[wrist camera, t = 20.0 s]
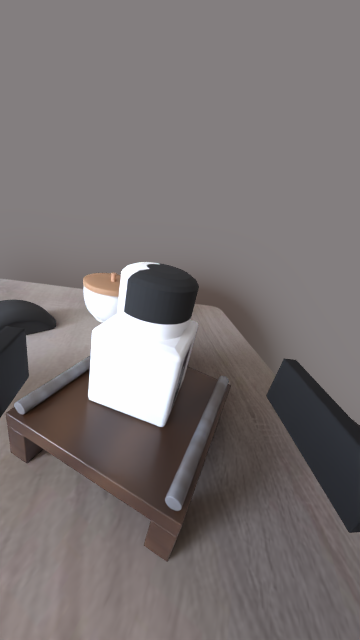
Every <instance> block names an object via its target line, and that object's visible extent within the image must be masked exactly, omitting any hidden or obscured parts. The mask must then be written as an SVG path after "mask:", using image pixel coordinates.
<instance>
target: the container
mask: <svg viewBox="0 0 360 640" xmlns="http://www.w3.org/2000/svg"><path fill="white" fill-rule="evenodd" d="M198 288H199V286H198V283H197V281H196V280H195V279H194V278H193V277H192V276H191V275H189V274H188V273H187V272H185V271H183V270H181V269H178V268H176V267H173V266H169V265H164V264H159V263H152V262H139V263H135V264H131V265H128V266H126V267H125V268H124V269H123V270H122V272H121V281H120V290H119V299H118V308H117V314H115V315H114V316H112V317H111V318H109V319H108V320H106V321H105V322H103V323H102V324H100V325H99V326H97V327H96V328H95V329H93V331H92V344H91V360H90V375H89V391H88V397H89V400H91V401H94V402H96V403H99V404H102V405H104V406H107V407H110V408H112V409H115V410H117V411H120V412H123V413H125V414H128V415H130V416H133V417H136V418H138V419H141V420H143V421H146V422H149V423H151V424H154V425H157V426H159V427H164V426H165V424H166V422H167V420H168V417H169V415H170V412H171V410H172V407H173V405H174V402H175V400H176V397H177V395H178V392H179V390H180V387H181V385H182V382H183V380H184V377H185V373H186V369H187V366H188V362H189V358H190V355H191V351H192V348H193V344H194V340H195V337H196V333H197V329H198V323H197V322H196V321H193V320H191V316H192V312H193V308H194V304H195V300H196V296H197V292H198Z"/></svg>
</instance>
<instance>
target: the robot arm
mask: <svg viewBox="0 0 360 640" xmlns="http://www.w3.org/2000/svg"><path fill="white" fill-rule="evenodd" d="M28 377H29V372H28V359H27V346H26V333H25V328H18V327H10V326H6V327H4V328H3V329H2V330H1V331H0V417H1V416H2V414H3V413H4V412H5V410H6V409H7V407H8V406H9V404H10V403H11V402H12V400H13V399H14V397H15V396H16V394H17V393H18V391H19V390H20V389H21V387H22V386H23V384H24V383H25V381H26V380H27V379H28ZM266 396H267V398H268V400H269V401H270V403H271V404H272V406H273V408H274V409H275V411H276V413H277V414H278V416H279V418H280V419H281V421H282V423H283V424H284V426H285V428H286V429H287V431H288V433H289V434H290V436H291V437H292V439H293V441H294V442H295V444H296V446H297V447H298V449H299V451H300V452H301V454H302V456H303V457H304V459H305V461H306V462H307V464H308V465H309V467H310V469H311V470H312V472H313V474H314V475H315V477H316V479H317V480H318V482H319V484H320V485H321V487H322V489H323V490H324V492H325V493H326V495H327V497H328V498H329V500H330V502H331V503H332V505H333V507H334V508H335V510H336V512H337V513H338V515H339V517H340V518H341V520H342V522H343V523H344V525H345V526H346V528H347V530H348V531H349V533H352V532H360V425H358V424H357V423H356V422H354V421H353V420H352V419H351V418H350V417H348V415H347V414H346V413H345V412H344V411H343V410H342V409H341V408H340V407H339V405H338V404H337V403H336V402H335V401H334V400H333V399H332V398H331V397H330V396H329V395H328V394H327V393H326V392H325V391H324V389H323V388H321V386H320V385H319V384H318V383H317V382H316V381H315V380H314V379H313V378H312V377H311V376H310V374H309V373H308V372H307V371H306V370H305V369H304V368H303V367H302V366H301V365H300V364H299V363H298V362H297V361H296V360H291V359H284V360H283V362H282V364H281V366H280V368H279V370H278V372H277V374H276V377H275V379H274V381H273V383H272V385H271V387H270V389H269V391H268V393H267V395H266Z"/></svg>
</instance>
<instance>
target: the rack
mask: <svg viewBox="0 0 360 640" xmlns="http://www.w3.org/2000/svg"><path fill="white" fill-rule="evenodd" d="M90 360H91V355H90V356H89V357H87V358H86V359H84V360H82V361H81V362H79V363H78V364H76V365H74V366H73V367H71V368H70V369H68V370H66V371H65V372H63V373H62V374H60V375H58V376H57V377H55V378H54V379H52V380H50V381H49V382H47V383H46V384H44V385H42V386H41V387H39V388H38V389H36V390H34V391H33V392H31V393H30V394H28V395H26V396H25V397H23V398H22V399H20V400H18V401H17V402H15V404H14V406H15V407H14V408H12V409H11V410H9V411H8V412H6V419H7V425H8V426H7V427H8V434H9V441H10V449H11V453H13V454H14V455H16V456H17V457H18V458H20V459H21V460H23V461H24V462H26V463H27V462H29V461H30V460H31V459H32V458H33V457H34V456H35V455H36V454H38V453H39V452H40V451H41V450H42V449H44V450H46V451H47V452H49V453H50V454H52V455H53V456H55V457H56V458H58V459H59V460H61V461H62V462H64V463H65V464H67V465H68V466H70V467H71V468H73V469H74V470H76V471H77V472H79V473H81V474H82V475H84V476H85V477H87V478H88V479H90V480H91V481H93V482H94V483H96V484H97V485H99V486H100V487H102V488H103V489H105V490H106V491H108V492H109V493H111V494H112V495H114V496H115V497H117V498H118V499H120V500H121V501H123V502H124V503H126V504H127V505H129V506H130V507H132V508H134V509H135V510H137V511H138V512H140V513H141V514H143V515H144V516H146V517H147V518H149V519H150V520H151V522H150V526H149V529H148V532H147V536H146V539H145V543H144V546H145V547H147V548H148V549H150V550H151V551H153V552H154V553H155V554H157V555H158V556H160V557H161V558H163V559H164V560H165V561H168V559H169V557H170V554H171V552H172V549H173V547H174V544H175V542H176V540H177V537H178V535H179V532H180V530H181V527H182V525H183V522H184V519H185V516H186V513H187V510H188V507H189V505H190V502H191V499H192V496H193V493H194V490H195V487H196V484H197V481H198V479H199V476H200V473H201V470H202V467H203V464H204V461H205V458H206V456H207V453H208V450H209V447H210V444H211V441H212V438H213V435H214V433H215V430H216V427H217V424H218V421H219V418H220V415H221V412H222V410H223V407H224V404H225V401H226V398H227V395H228V392H229V389H230V387H231V385H229V384H228V382H229V380H228V378H227V377H226V376H220V377H219V379H216V378H213V377H211V376H209V375H206V374H204V373H202V372H199V371H197V370H195V369H192V368H190V367H188V366H187V369H186V373H185V377H184V380H183V382H182V385H181V387H180V390H179V392H178V395H177V397H176V400H175V402H174V405H173V407H172V410H171V412H170V415H169V417H168V420H167V422H166V424H165V426H164V427H159V426H157V425H154V424H151V423H149V422H146V421H143V420H141V419H138V418H136V417H133V416H130V415H128V414H125V413H123V412H120V411H117V410H115V409H112V408H110V407H107V406H104V405H102V404H99V403H96V402H94V401H91V400H89V397H88V391H89V375H90Z"/></svg>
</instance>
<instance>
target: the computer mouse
mask: <svg viewBox="0 0 360 640" xmlns="http://www.w3.org/2000/svg"><path fill="white" fill-rule="evenodd" d="M6 326H10V327H18V328H25V333H26V335H27V334H31V333H36V332H41V331H45V330H50V329H53V328H55V327H56V320H55V319H54V318H53V317H52V316H51V315H50V314H49V313H48V312H47V311H46V310H45V309H43V308H42V307H40V306H38V305H36V304H34V303H31V302H27V301H23V300H4V301H0V331H1V330H2V329H3V328H4V327H6Z"/></svg>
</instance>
